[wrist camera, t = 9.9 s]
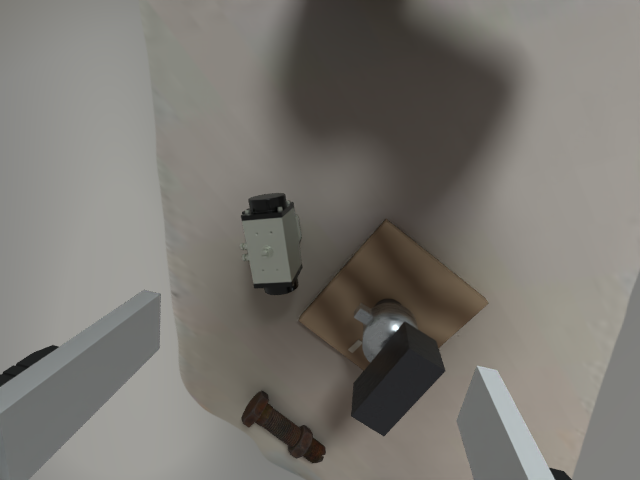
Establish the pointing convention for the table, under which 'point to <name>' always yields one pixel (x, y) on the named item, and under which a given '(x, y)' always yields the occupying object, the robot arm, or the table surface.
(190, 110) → the table surface
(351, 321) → the base
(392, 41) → the table surface
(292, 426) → the bolt
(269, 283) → the pneumatic valve
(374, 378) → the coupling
